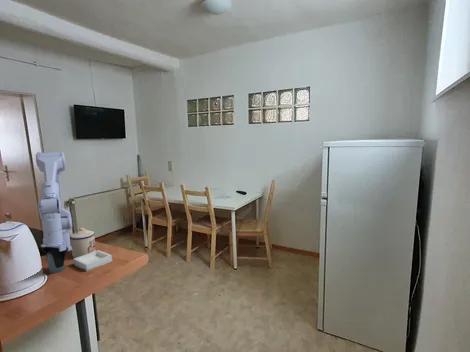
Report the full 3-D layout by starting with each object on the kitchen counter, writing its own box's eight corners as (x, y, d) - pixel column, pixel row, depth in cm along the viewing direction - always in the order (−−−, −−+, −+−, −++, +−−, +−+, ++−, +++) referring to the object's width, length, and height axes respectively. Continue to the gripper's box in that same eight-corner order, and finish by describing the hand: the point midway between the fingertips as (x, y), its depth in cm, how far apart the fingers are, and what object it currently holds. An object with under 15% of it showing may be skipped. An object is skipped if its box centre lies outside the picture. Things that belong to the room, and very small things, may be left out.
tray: (73, 264, 103) (73, 258, 103) (98, 255, 111) (98, 250, 111) (86, 271, 98) (86, 264, 97) (112, 261, 106) (111, 255, 106)
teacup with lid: (92, 257, 110) (90, 230, 108) (68, 260, 108) (65, 232, 107) (100, 246, 121) (98, 222, 120) (79, 248, 120) (76, 223, 118)
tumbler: (46, 271, 99) (44, 253, 98) (61, 265, 103) (59, 248, 102) (52, 274, 96) (50, 256, 95) (67, 269, 100) (65, 251, 99)
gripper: (31, 230, 98) (36, 264, 100) (48, 237, 90) (53, 274, 92) (53, 225, 104) (56, 257, 106) (70, 231, 96) (74, 266, 98)
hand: (56, 265), depth 99 cm, fingers closed on tumbler, 5 cm apart
